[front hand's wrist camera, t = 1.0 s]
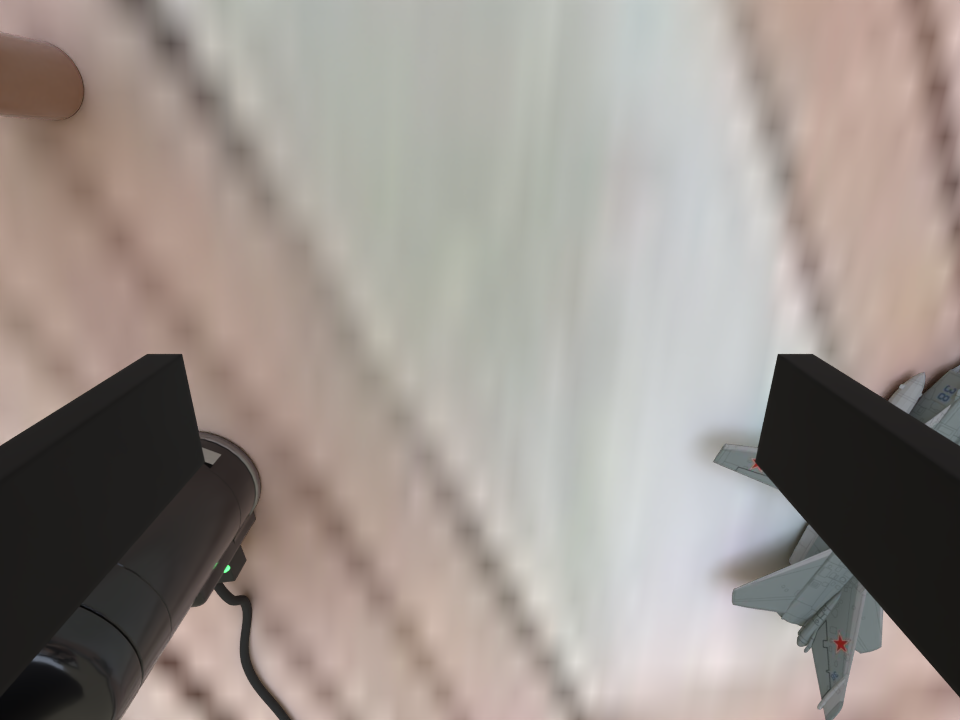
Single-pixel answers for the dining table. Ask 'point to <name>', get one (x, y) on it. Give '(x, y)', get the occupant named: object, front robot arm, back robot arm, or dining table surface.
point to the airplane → (836, 561)
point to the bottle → (37, 80)
